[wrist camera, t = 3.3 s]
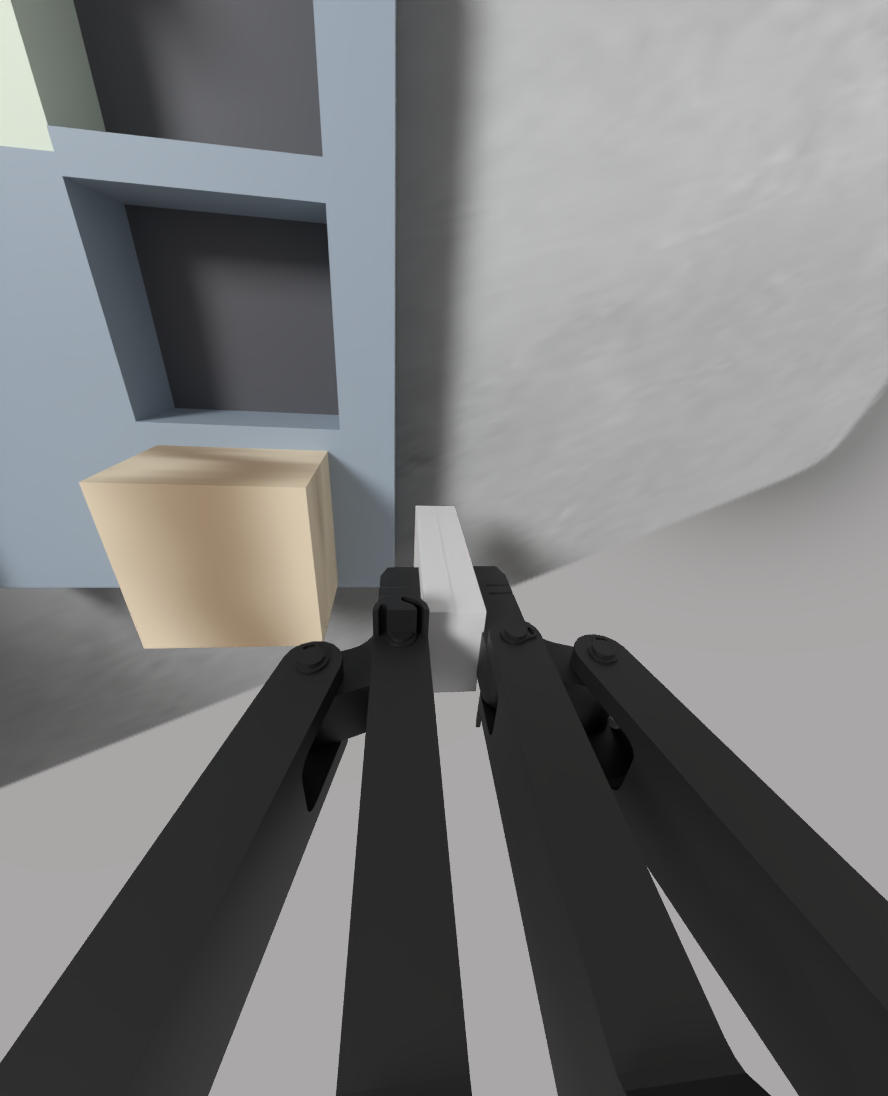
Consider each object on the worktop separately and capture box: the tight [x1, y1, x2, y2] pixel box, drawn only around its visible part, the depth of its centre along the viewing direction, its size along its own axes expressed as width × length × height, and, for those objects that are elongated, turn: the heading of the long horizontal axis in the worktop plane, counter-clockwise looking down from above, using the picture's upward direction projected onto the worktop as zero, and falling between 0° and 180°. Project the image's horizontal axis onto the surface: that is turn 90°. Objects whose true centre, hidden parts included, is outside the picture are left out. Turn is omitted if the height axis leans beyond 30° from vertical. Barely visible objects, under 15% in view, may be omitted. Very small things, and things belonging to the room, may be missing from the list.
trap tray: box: [0, 0, 397, 588], centre depth 13 cm, size 18×21×5 cm
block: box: [79, 445, 338, 649], centre depth 14 cm, size 6×6×4 cm
